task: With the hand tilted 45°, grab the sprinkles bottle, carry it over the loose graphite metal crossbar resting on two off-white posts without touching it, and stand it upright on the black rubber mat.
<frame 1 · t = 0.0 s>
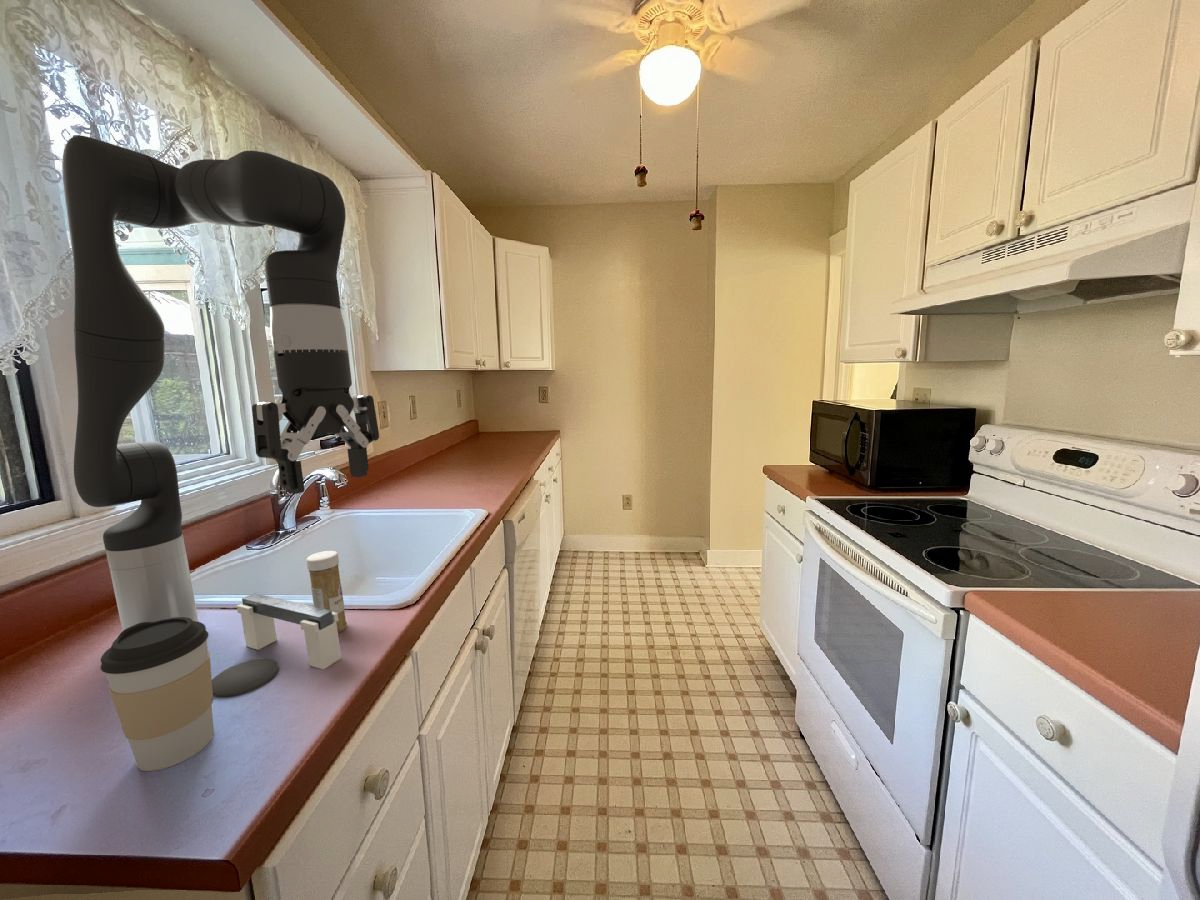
hand: (329, 484, 59), 29 cm above the counter, tool pointing down, fingers open, 8 cm apart
crossbar: (286, 616, 75), point 6 cm above the counter, touching hurdle posts
rubber mat: (245, 678, 69), on the counter
sprinkles bottle: (332, 631, 82), on the counter
coffee cup: (177, 748, 57), on the counter
hurdle posts: (292, 652, 76), on the counter
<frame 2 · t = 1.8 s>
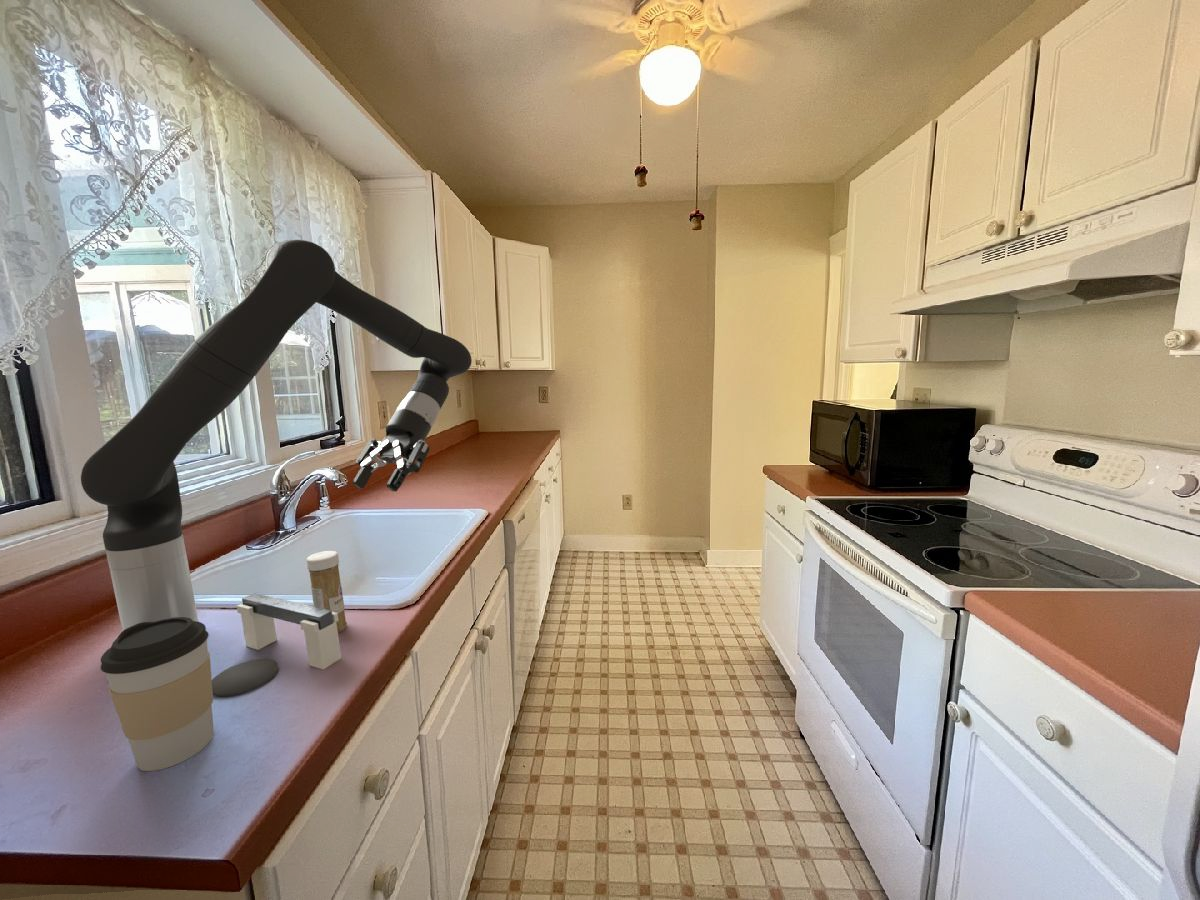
hand: (373, 487, 89), 22 cm above the counter, tool tilted 45°, fingers open, 8 cm apart
nothing on the counter moved.
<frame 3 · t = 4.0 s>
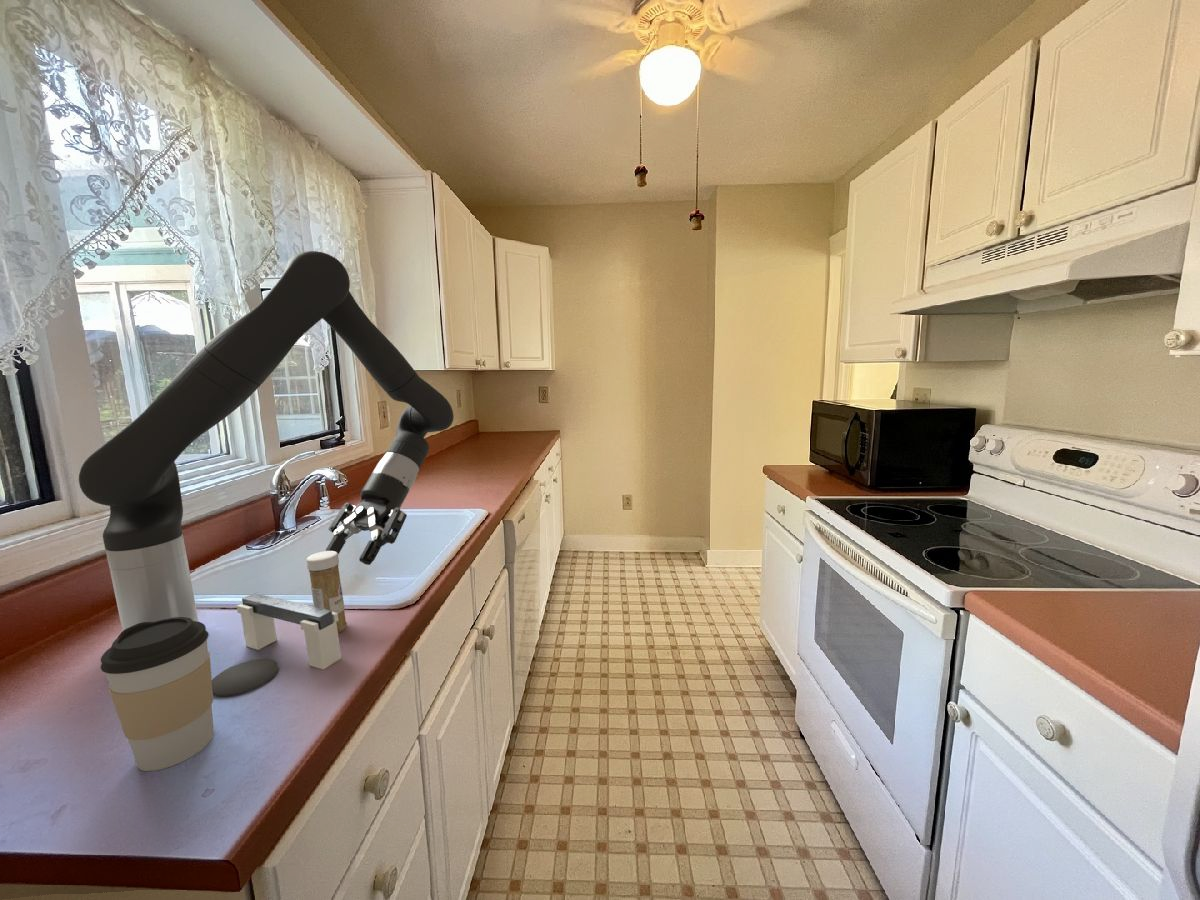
hand: (346, 560, 84), 11 cm above the counter, tool tilted 45°, fingers open, 8 cm apart
nothing on the counter moved.
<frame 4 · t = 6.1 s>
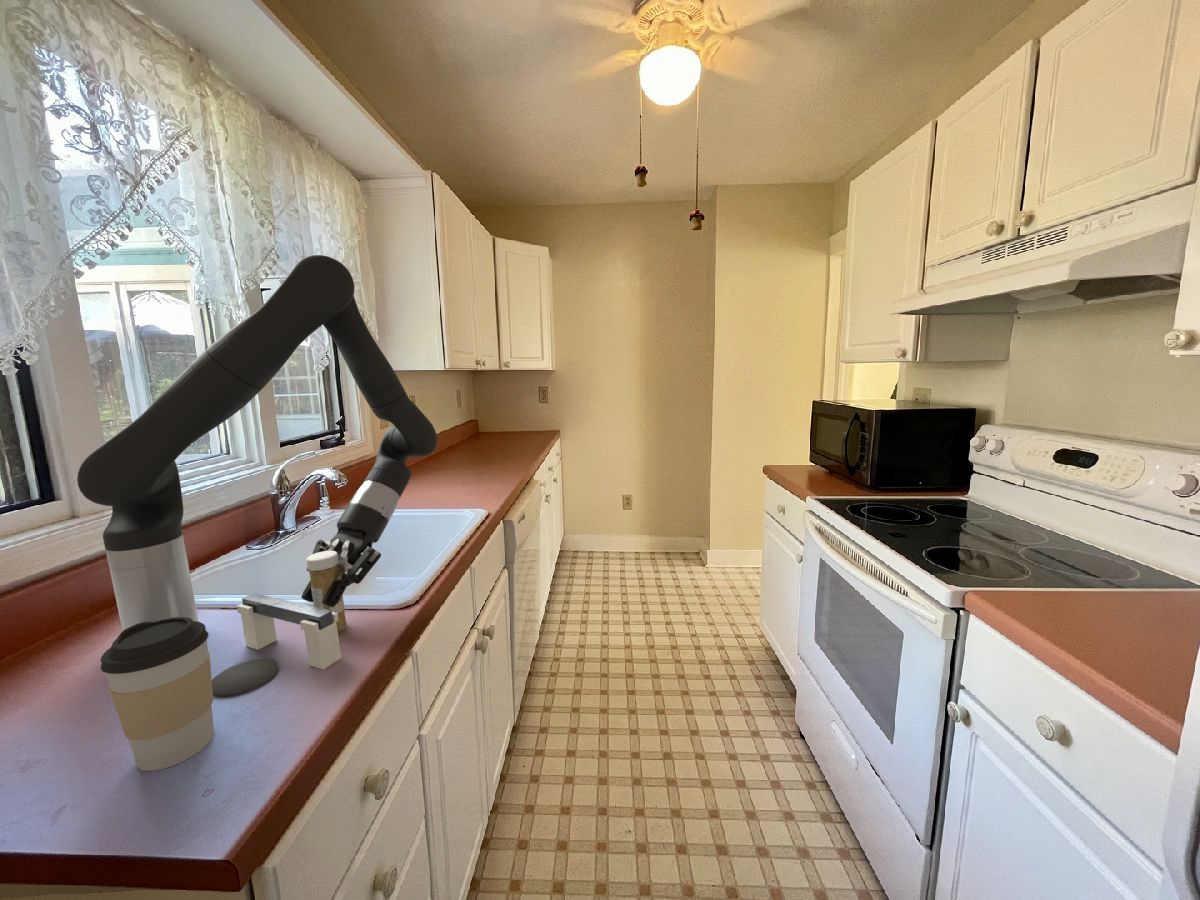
hand: (317, 602, 79), 6 cm above the counter, tool tilted 45°, fingers closed on sprinkles bottle, 4 cm apart
sprinkles bottle: (332, 631, 82), on the counter, touching gripper
everything else where it was.
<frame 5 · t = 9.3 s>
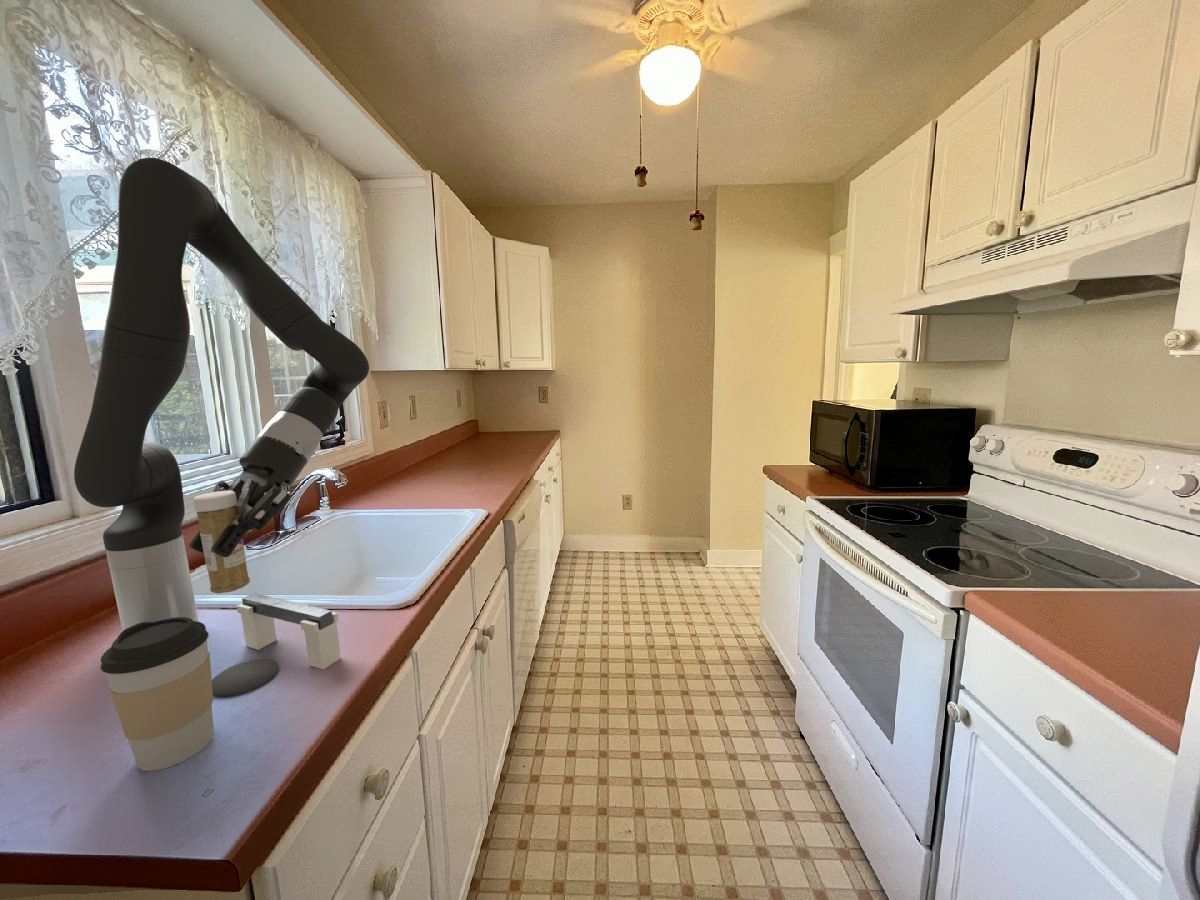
hand: (208, 551, 65), 20 cm above the counter, tool tilted 45°, fingers closed on sprinkles bottle, 4 cm apart
sprinkles bottle: (231, 588, 67), point 14 cm above the counter, touching gripper
everything else where it was.
when the fingers open (8 cm above the counter, at t = 12.4 s): sprinkles bottle drops 1 cm, resting on rubber mat.
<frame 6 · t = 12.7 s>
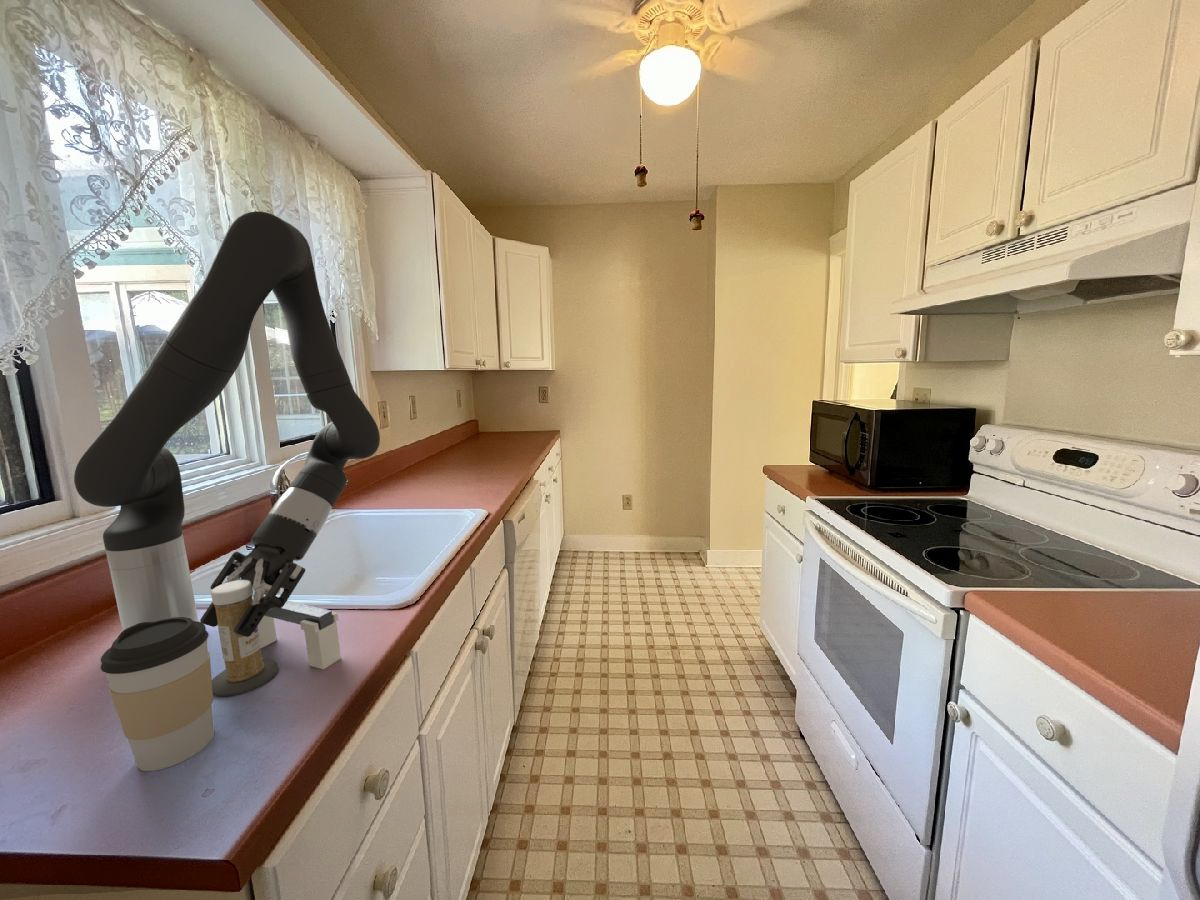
hand: (223, 629, 67), 8 cm above the counter, tool tilted 45°, fingers open, 7 cm apart
sprinkles bottle: (245, 674, 69), resting on rubber mat
everything else where it was.
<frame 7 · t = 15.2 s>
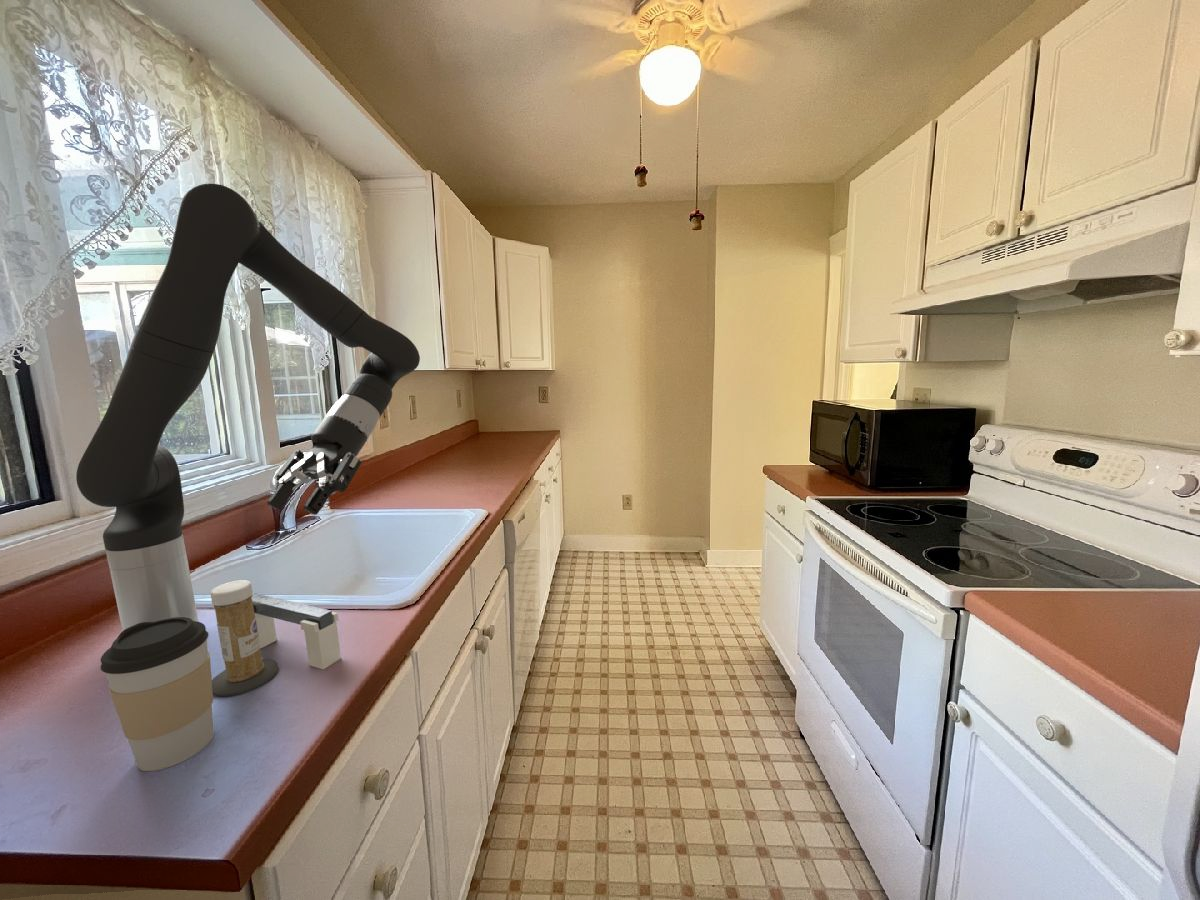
hand: (290, 509, 75), 22 cm above the counter, tool tilted 45°, fingers open, 8 cm apart
nothing on the counter moved.
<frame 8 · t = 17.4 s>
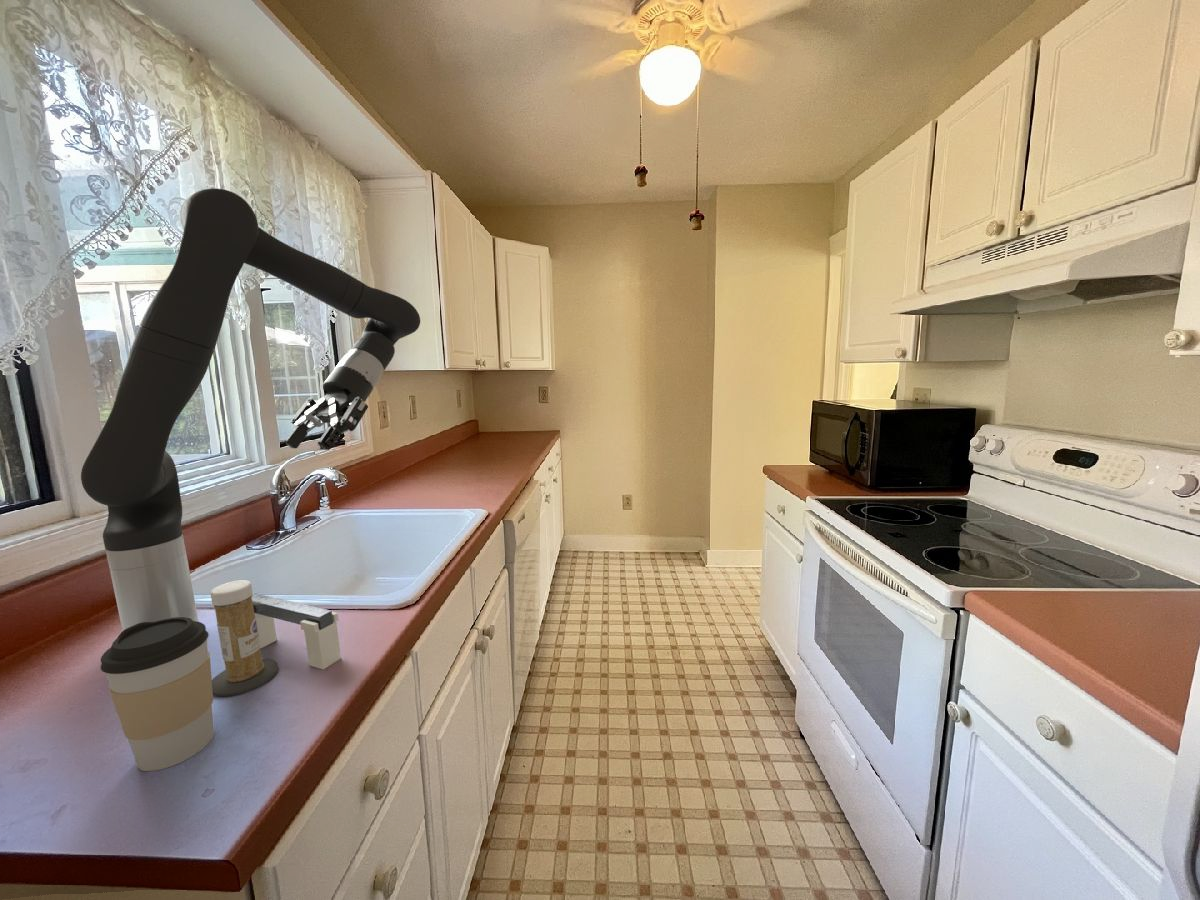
hand: (306, 446, 84), 31 cm above the counter, tool tilted 45°, fingers open, 8 cm apart
nothing on the counter moved.
at the end: sprinkles bottle 0.2 cm off-centre on the rubber mat, point 0.4 cm above the rubber mat's base; sprinkles bottle tilted 0°; crossbar moved 0.0 cm from its start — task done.
